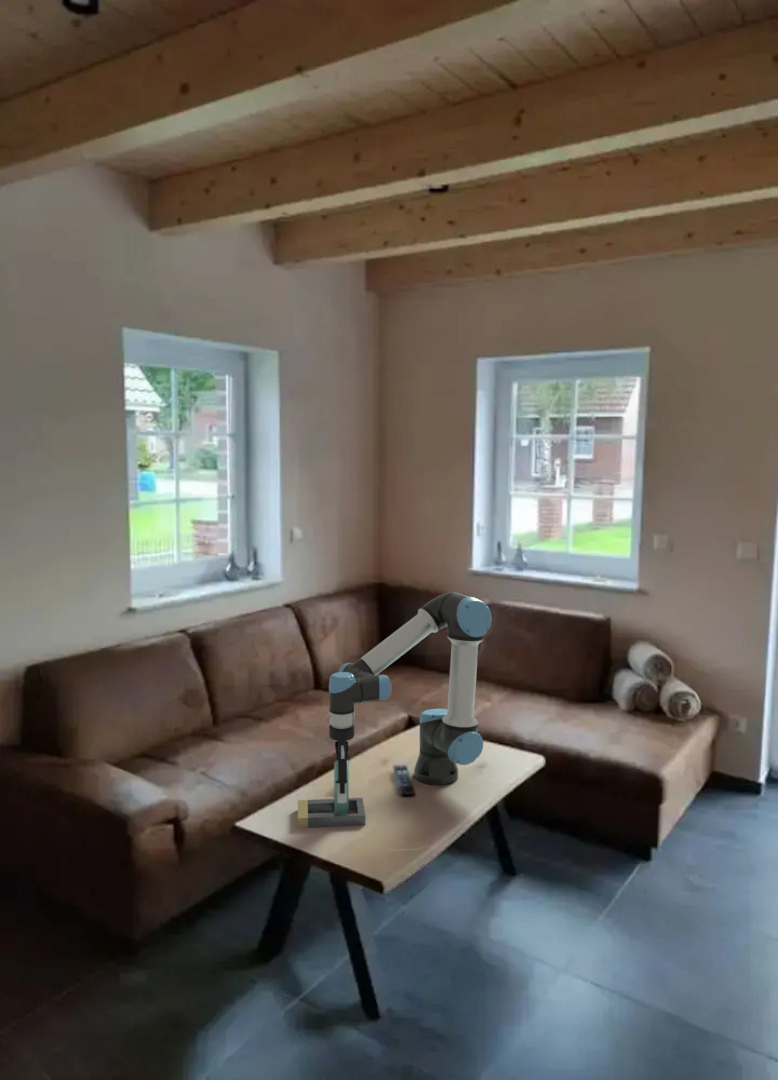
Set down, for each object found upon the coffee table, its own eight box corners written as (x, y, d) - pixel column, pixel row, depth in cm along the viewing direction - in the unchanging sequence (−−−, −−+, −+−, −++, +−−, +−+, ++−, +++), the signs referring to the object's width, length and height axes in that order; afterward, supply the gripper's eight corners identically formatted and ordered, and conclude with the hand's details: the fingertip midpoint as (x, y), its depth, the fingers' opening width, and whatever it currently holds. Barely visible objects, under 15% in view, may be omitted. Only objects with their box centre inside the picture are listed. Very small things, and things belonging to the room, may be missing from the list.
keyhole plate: (362, 806, 246) (362, 797, 246) (365, 824, 234) (365, 815, 234) (298, 809, 244) (297, 800, 244) (297, 828, 232) (297, 818, 232)
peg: (348, 809, 242) (348, 759, 240) (349, 816, 237) (349, 765, 235) (333, 810, 241) (333, 759, 239) (334, 816, 237) (334, 765, 235)
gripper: (328, 715, 244) (328, 787, 247) (330, 735, 227) (330, 812, 230) (352, 714, 245) (352, 786, 248) (356, 734, 228) (355, 811, 231)
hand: (341, 798), depth 239 cm, fingers closed on peg, 4 cm apart
